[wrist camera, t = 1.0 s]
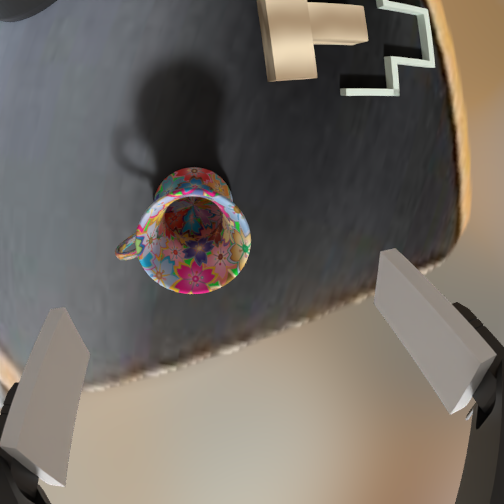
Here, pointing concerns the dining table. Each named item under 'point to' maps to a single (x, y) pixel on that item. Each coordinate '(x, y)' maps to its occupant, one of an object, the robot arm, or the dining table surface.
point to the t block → (305, 34)
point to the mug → (191, 234)
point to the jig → (392, 61)
